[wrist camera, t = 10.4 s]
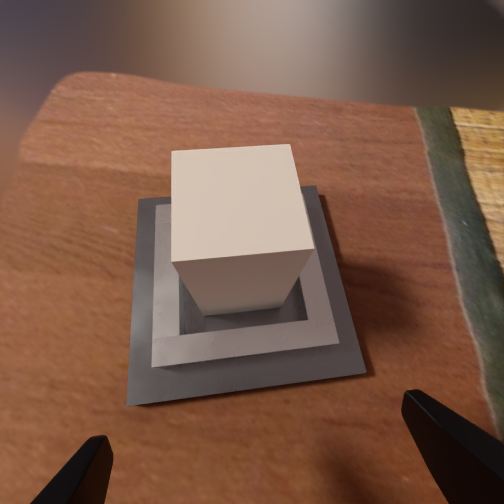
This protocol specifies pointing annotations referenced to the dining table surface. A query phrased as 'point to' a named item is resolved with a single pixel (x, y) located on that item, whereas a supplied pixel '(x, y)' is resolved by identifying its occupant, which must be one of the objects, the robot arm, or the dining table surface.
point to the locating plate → (234, 323)
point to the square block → (238, 226)
